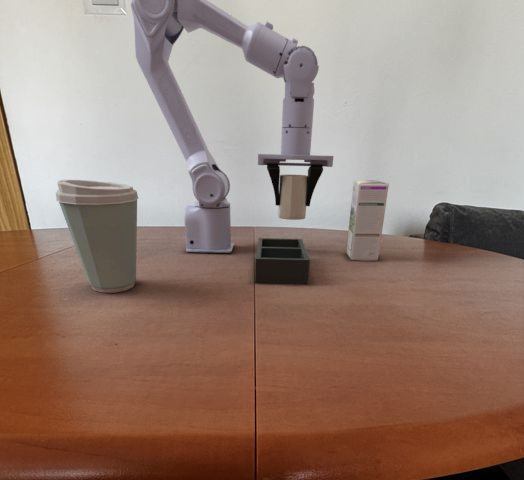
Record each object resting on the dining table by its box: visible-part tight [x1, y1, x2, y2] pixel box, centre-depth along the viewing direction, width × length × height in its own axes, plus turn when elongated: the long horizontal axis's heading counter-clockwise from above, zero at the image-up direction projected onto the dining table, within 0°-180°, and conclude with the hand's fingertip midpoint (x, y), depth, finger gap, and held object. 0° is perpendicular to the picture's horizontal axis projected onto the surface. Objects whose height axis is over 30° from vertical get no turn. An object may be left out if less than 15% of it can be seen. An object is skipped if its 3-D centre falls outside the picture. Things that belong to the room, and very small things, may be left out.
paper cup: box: [277, 174, 308, 221], centre depth 76 cm, size 6×6×8 cm
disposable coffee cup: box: [55, 179, 139, 294], centre depth 55 cm, size 11×11×15 cm
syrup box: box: [345, 179, 390, 262], centre depth 75 cm, size 6×6×14 cm
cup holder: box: [254, 237, 311, 285], centre depth 68 cm, size 9×16×4 cm, turn 179°
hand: (292, 205), depth 77 cm, fingers closed on paper cup, 5 cm apart
